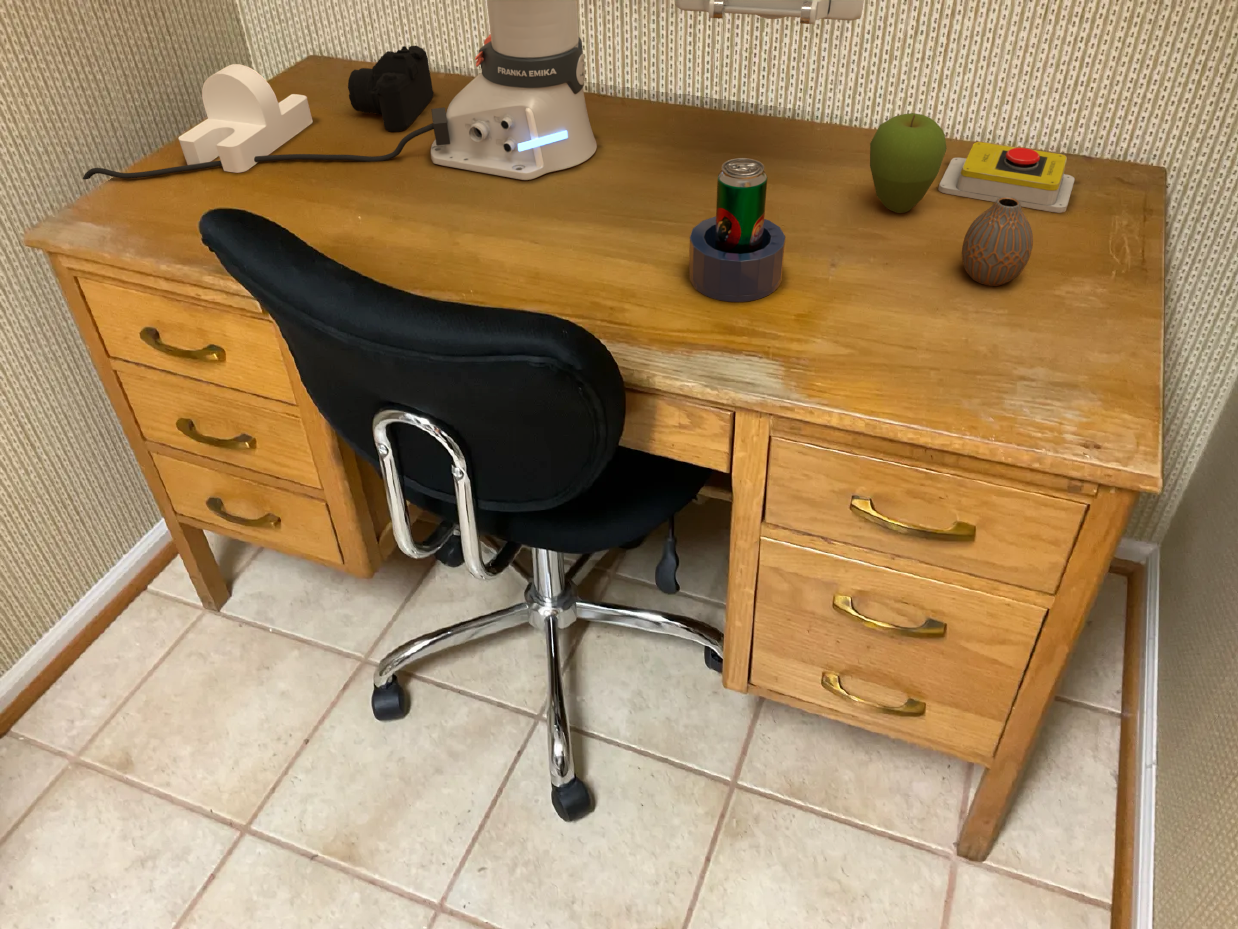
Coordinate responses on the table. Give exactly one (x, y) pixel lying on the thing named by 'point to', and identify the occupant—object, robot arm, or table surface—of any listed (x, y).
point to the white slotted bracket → (242, 120)
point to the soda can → (740, 206)
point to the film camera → (393, 87)
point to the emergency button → (1010, 176)
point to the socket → (735, 265)
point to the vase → (998, 243)
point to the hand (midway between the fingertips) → (761, 13)
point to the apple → (906, 159)
